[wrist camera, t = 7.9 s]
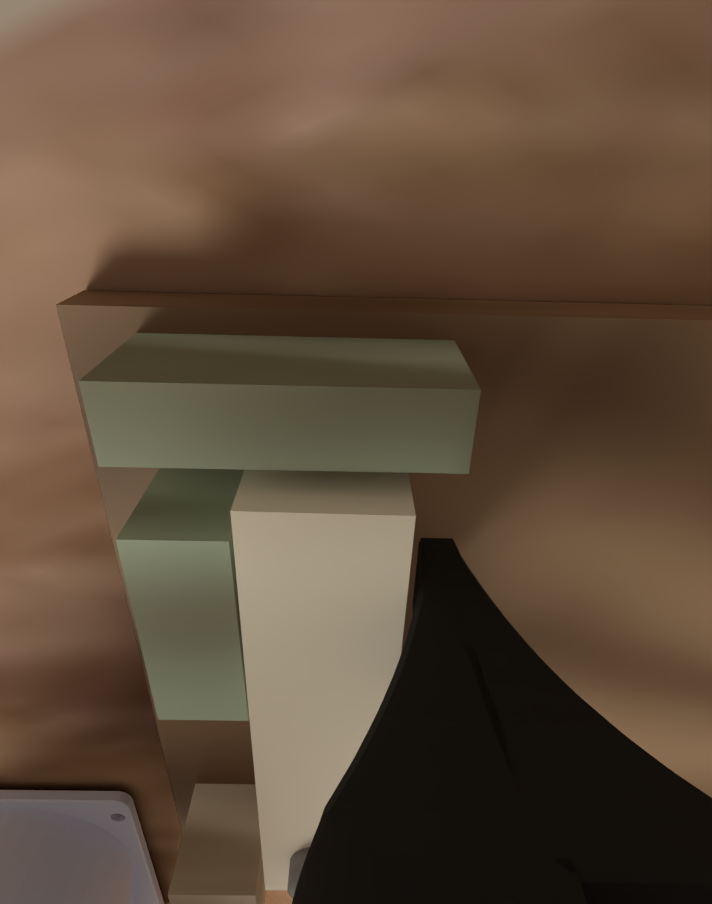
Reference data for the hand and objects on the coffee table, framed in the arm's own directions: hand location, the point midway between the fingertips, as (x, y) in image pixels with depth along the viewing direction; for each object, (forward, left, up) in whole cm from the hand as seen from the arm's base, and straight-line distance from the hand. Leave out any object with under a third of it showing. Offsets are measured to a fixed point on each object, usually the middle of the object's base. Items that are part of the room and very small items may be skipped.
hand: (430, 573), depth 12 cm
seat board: (-4, -2, -2) cm, 5 cm away
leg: (-3, +2, -1) cm, 4 cm away
